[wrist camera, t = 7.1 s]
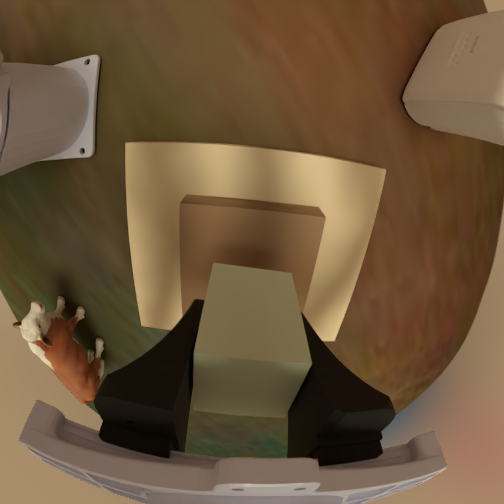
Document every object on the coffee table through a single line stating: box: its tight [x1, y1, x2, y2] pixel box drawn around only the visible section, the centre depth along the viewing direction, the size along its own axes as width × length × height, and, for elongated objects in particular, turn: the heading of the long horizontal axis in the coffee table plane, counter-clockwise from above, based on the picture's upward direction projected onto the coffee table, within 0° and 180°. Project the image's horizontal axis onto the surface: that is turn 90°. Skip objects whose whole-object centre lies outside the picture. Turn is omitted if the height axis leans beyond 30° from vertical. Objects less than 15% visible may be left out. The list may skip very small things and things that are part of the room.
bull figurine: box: [13, 296, 104, 404], centre depth 21 cm, size 4×13×8 cm, turn 3°
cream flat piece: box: [126, 141, 386, 341], centre depth 20 cm, size 18×16×3 cm
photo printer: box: [402, 10, 504, 146], centre depth 9 cm, size 10×4×12 cm, turn 151°
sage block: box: [193, 263, 312, 418], centre depth 12 cm, size 4×4×6 cm
